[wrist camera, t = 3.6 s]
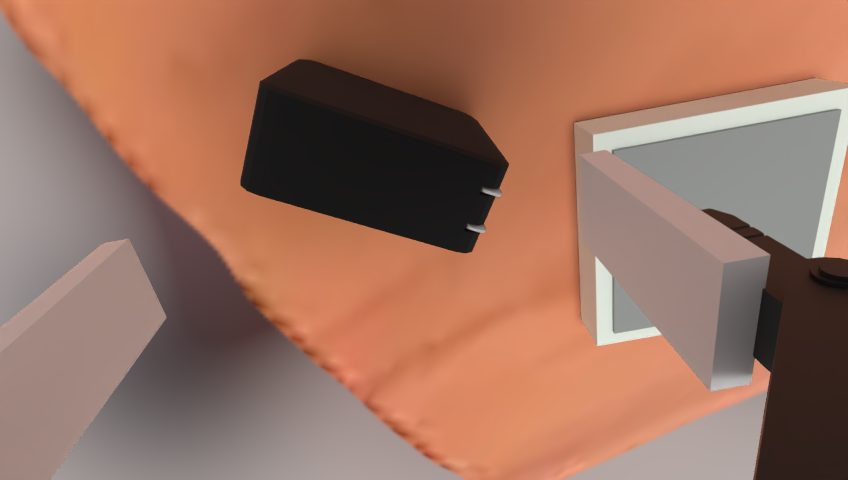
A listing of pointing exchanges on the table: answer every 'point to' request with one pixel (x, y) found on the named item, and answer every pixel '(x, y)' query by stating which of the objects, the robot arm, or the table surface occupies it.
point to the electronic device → (372, 156)
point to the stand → (723, 175)
